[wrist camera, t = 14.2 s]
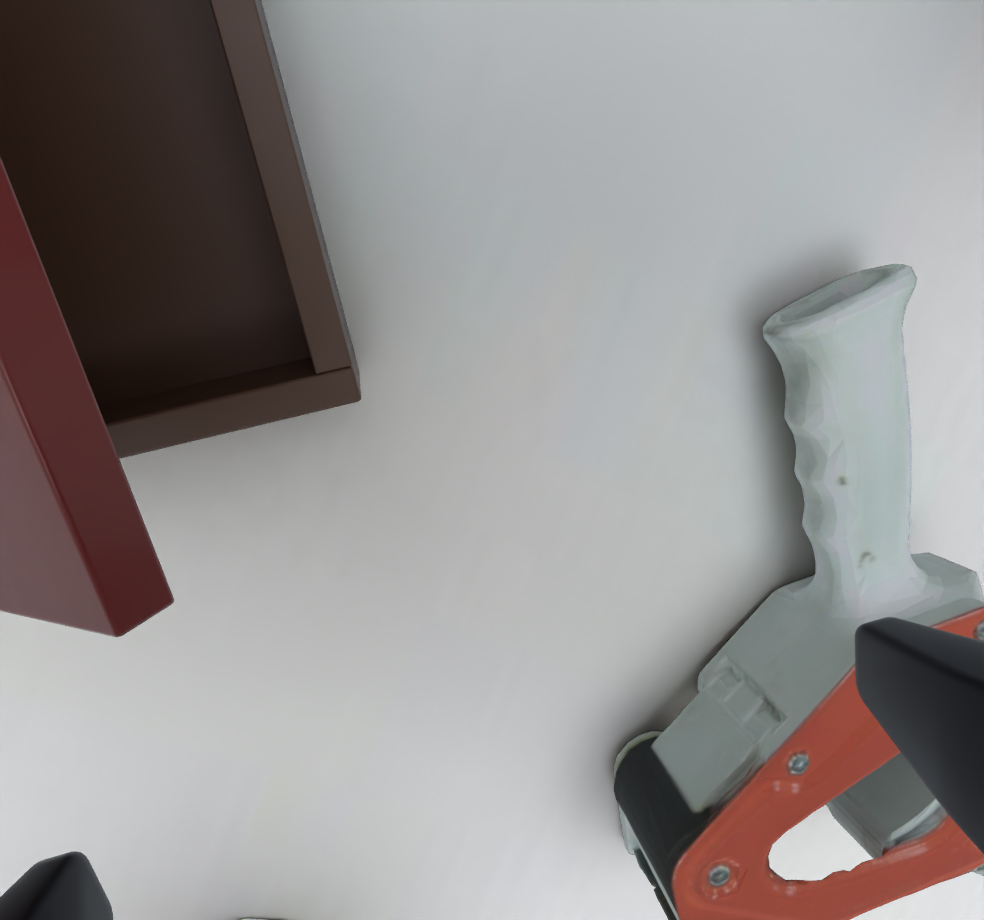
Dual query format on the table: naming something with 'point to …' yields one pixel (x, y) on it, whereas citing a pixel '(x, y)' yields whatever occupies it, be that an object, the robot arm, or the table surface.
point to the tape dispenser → (812, 656)
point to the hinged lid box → (172, 214)
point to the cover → (61, 467)
